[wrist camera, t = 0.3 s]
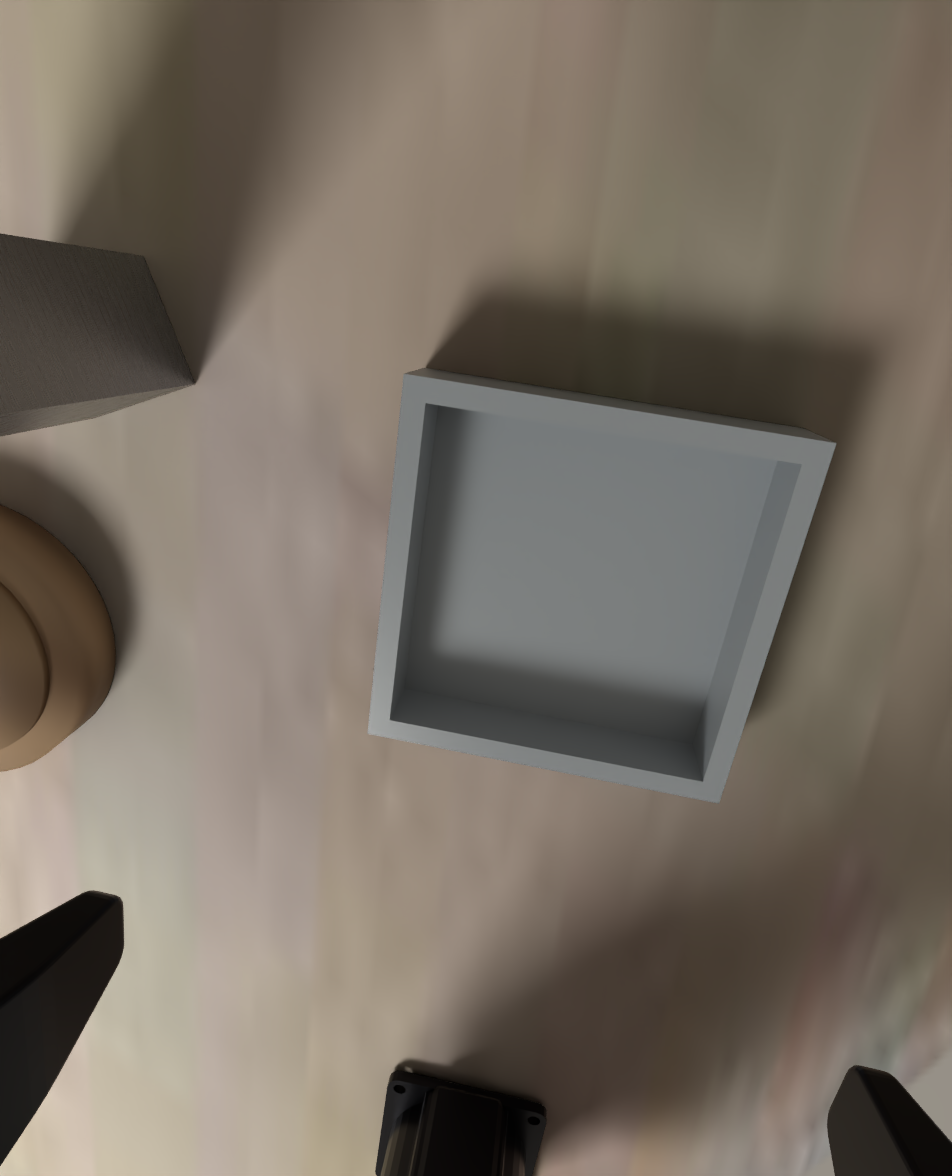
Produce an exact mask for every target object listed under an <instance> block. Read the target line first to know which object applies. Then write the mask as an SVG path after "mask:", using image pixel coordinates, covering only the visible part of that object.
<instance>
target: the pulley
mask: <svg viewBox="0 0 952 1176" xmlns="http://www.w3.org/2000/svg"><path fill="white" fill-rule="evenodd" d="M115 654H116V649H115V641H114V633H113V629H112V625H111V621H110V617H109V615H108V612H107V610H106V607H105V604H104V602H103V600H102V598H101V596H100V594H99V592H98V590H97V588H96V586H95V584H94V583H93V581H92V580H91V578H90V577H89V575H88V574H87V572H86V571H85V569H84V568H83V567H82V565H81V564H80V563H79V562H78V561H77V559H76V558H75V557H74V556H73V554H72V553H71V552H70V551H69V550H68V549H67V548H66V547H65V546H64V545H63V544H62V543H61V542H60V541H59V540H57V539H56V538H55V537H54V536H52V535H51V534H50V533H49V532H48V531H46V530H45V529H44V528H42V527H41V526H39V525H38V524H36V523H35V522H33V521H32V520H30V519H29V518H27V517H25V516H23V515H21V514H19V513H17V512H15V511H14V510H12V509H9V508H7V507H4V506H1V505H0V772H1V771H8V770H13V769H17V768H21V767H23V766H26V765H28V764H30V763H33V762H35V761H36V760H38V759H40V758H41V757H43V756H44V755H46V754H47V753H48V752H49V751H51V750H52V749H53V748H54V747H56V746H57V745H58V744H59V743H61V742H62V741H63V740H64V739H65V738H67V737H68V736H69V735H70V734H72V733H73V732H74V731H75V730H77V729H78V728H79V727H80V726H81V725H83V724H84V723H85V722H86V721H87V720H88V719H90V718H91V717H92V716H93V715H94V714H95V713H96V711H97V710H98V709H99V708H100V706H101V705H102V703H103V702H104V700H105V698H106V696H107V694H108V692H109V689H110V686H111V683H112V680H113V676H114V670H115Z"/></svg>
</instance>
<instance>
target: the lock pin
mask: <svg viewBox="0 0 952 1176" xmlns="http://www.w3.org/2000/svg"><path fill="white" fill-rule="evenodd" d="M194 384H195V382H194V380H193V377H192V375H191V373H190V370H189V368H188V365H187V363H186V360H185V358H184V355H183V353H182V350H181V348H180V346H179V343H178V341H177V338H176V336H175V333H174V331H173V328H172V326H171V323H170V321H169V318H168V316H167V314H166V311H165V309H164V306H163V304H162V301H161V299H160V296H159V294H158V291H157V289H156V286H155V284H154V282H153V279H152V277H151V274H150V272H149V269H148V267H147V264H146V262H145V259H144V257H143V256H139V255H133V254H127V253H120V252H114V251H108V250H101V249H95V248H89V247H82V246H76V245H70V244H63V243H57V242H51V241H44V240H38V239H32V238H25V237H19V236H13V235H6V234H0V436H5V435H11V434H16V433H21V432H26V431H31V430H36V429H41V428H47V427H52V426H57V425H62V424H67V423H72V422H77V421H82V420H88V419H93V418H96V417H99V416H102V415H105V414H108V413H111V412H114V411H117V410H120V409H123V408H126V407H129V406H132V405H135V404H138V403H141V402H144V401H147V400H150V399H153V398H156V397H158V396H161V395H164V394H167V393H170V392H173V391H176V390H179V389H182V388H185V387H188V386H191V385H194Z"/></svg>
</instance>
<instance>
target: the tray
mask: <svg viewBox="0 0 952 1176" xmlns="http://www.w3.org/2000/svg"><path fill="white" fill-rule="evenodd" d="M835 446H836V443H835V442H833V441H831V440H829V439H826V438H824V437H822V436H820V435H818V434H815V433H813V432H811V431H809V430H807V429H804V428H799V427H793V426H786V425H780V424H774V423H768V422H761V421H755V420H749V419H743V418H736V417H730V416H724V415H717V414H711V413H705V412H699V411H692V410H686V409H680V408H674V407H667V406H661V405H655V404H649V403H642V402H636V401H630V400H623V399H617V398H611V397H605V396H598V395H592V394H586V393H580V392H573V391H567V390H561V389H555V388H548V387H542V386H536V385H529V384H523V383H517V382H511V381H504V380H498V379H492V378H486V377H479V376H473V375H467V374H461V373H454V372H448V371H442V370H435V369H429V368H422V369H418V370H415V371H412V372H408V373H405V374H404V377H403V387H402V397H401V407H400V417H399V427H398V437H397V447H396V457H395V467H394V477H393V487H392V497H391V506H390V516H389V526H388V536H387V546H386V556H385V566H384V576H383V586H382V596H381V606H380V616H379V626H378V636H377V645H376V655H375V665H374V675H373V685H372V695H371V705H370V715H369V725H368V734H371V735H376V736H381V737H386V738H391V739H396V740H401V741H407V742H412V743H417V744H422V745H427V746H432V747H437V748H442V749H447V750H452V751H457V752H462V753H467V754H472V755H477V756H482V757H487V758H492V759H497V760H502V761H507V762H512V763H517V764H522V765H527V766H532V767H537V768H542V769H547V770H552V771H558V772H563V773H568V774H573V775H578V776H583V777H588V778H593V779H598V780H603V781H608V782H613V783H618V784H623V785H628V786H633V787H638V788H643V789H648V790H653V791H658V792H663V793H668V794H673V795H678V796H683V797H688V798H693V799H698V800H703V801H709V802H714V803H719V802H720V799H721V796H722V793H723V790H724V787H725V784H726V781H727V778H728V774H729V771H730V768H731V765H732V762H733V759H734V756H735V753H736V750H737V747H738V744H739V741H740V738H741V735H742V732H743V729H744V725H745V722H746V719H747V716H748V713H749V710H750V707H751V704H752V701H753V698H754V695H755V692H756V689H757V686H758V683H759V679H760V676H761V673H762V670H763V667H764V664H765V661H766V658H767V655H768V652H769V649H770V646H771V643H772V640H773V637H774V633H775V630H776V627H777V624H778V621H779V618H780V615H781V612H782V609H783V606H784V603H785V600H786V597H787V594H788V591H789V588H790V584H791V581H792V578H793V575H794V572H795V569H796V566H797V563H798V560H799V557H800V554H801V551H802V548H803V545H804V542H805V538H806V535H807V532H808V529H809V526H810V523H811V520H812V517H813V514H814V511H815V508H816V505H817V502H818V499H819V496H820V492H821V489H822V486H823V483H824V480H825V477H826V474H827V471H828V468H829V465H830V462H831V459H832V456H833V453H834V450H835Z"/></svg>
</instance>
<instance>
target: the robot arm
mask: <svg viewBox="0 0 952 1176" xmlns="http://www.w3.org/2000/svg"><path fill="white" fill-rule="evenodd" d="M123 949H124V917H123V902H122V900H121V898H120V897H118V896H116V895H112V894H108V893H103V892H99V891H87V892H84V893H82V894H80V895H78V896H76V897H75V898H73V899H71V900H69V901H67V902H65V903H64V904H62V905H60V906H58V907H56V908H55V909H53V910H51V911H49V912H47V913H46V914H44V915H42V916H40V917H38V918H37V919H35V920H33V921H31V922H29V923H28V924H26V925H24V926H22V927H20V928H19V929H17V930H15V931H13V932H11V933H10V934H8V935H6V936H4V937H2V938H0V1166H1V1164H2V1163H3V1161H4V1160H5V1158H6V1157H7V1155H8V1154H9V1152H10V1151H11V1149H12V1148H13V1146H14V1145H15V1143H16V1142H17V1140H18V1139H19V1137H20V1136H21V1134H22V1133H23V1131H24V1130H25V1128H26V1127H27V1125H28V1124H29V1122H30V1121H31V1119H32V1118H33V1116H34V1114H35V1113H36V1111H37V1110H38V1108H39V1107H40V1105H41V1103H42V1102H43V1100H44V1099H45V1097H46V1096H47V1094H48V1092H49V1090H50V1089H51V1087H52V1085H53V1083H54V1082H55V1080H56V1078H57V1076H58V1075H59V1073H60V1071H61V1069H62V1068H63V1066H64V1064H65V1062H66V1060H67V1058H68V1056H69V1055H70V1053H71V1051H72V1049H73V1047H74V1045H75V1044H76V1042H77V1040H78V1038H79V1036H80V1034H81V1033H82V1031H83V1029H84V1027H85V1025H86V1023H87V1022H88V1020H89V1018H90V1016H91V1014H92V1012H93V1011H94V1009H95V1007H96V1005H97V1003H98V1001H99V1000H100V998H101V996H102V994H103V992H104V990H105V988H106V987H107V985H108V983H109V981H110V979H111V977H112V976H113V974H114V972H115V970H116V968H117V966H118V964H119V962H120V959H121V957H122V953H123ZM546 1114H547V1113H546V1108H545V1107H544V1106H543V1105H542V1104H539V1103H537V1102H533V1101H528V1100H524V1099H520V1098H516V1097H511V1096H507V1095H503V1094H498V1093H494V1092H490V1091H486V1090H481V1089H477V1088H473V1087H468V1086H464V1085H460V1084H456V1083H451V1082H447V1081H443V1080H438V1079H434V1078H430V1077H425V1076H421V1075H417V1074H413V1073H408V1072H404V1071H395V1072H393V1073H392V1074H391V1075H390V1078H389V1082H388V1087H387V1094H386V1101H385V1108H384V1115H383V1122H382V1129H381V1135H380V1142H379V1149H378V1156H377V1163H376V1170H375V1172H376V1175H377V1176H532V1174H533V1170H534V1166H535V1163H536V1159H537V1155H538V1152H539V1148H540V1144H541V1141H542V1137H543V1133H544V1130H545V1126H546ZM827 1129H828V1138H829V1144H830V1149H831V1155H832V1161H833V1166H834V1173H835V1176H952V1142H951V1141H950V1140H949V1139H948V1138H947V1136H946V1135H945V1134H944V1133H943V1132H942V1131H941V1130H940V1129H939V1127H938V1126H937V1125H936V1124H935V1123H934V1122H933V1120H932V1119H931V1118H930V1117H929V1116H928V1115H927V1114H926V1112H925V1111H924V1110H923V1109H922V1108H921V1107H920V1105H919V1104H918V1103H917V1102H916V1101H915V1100H914V1099H913V1098H912V1096H911V1095H910V1094H909V1093H908V1092H907V1091H906V1089H905V1088H904V1087H903V1086H902V1085H901V1084H900V1083H899V1081H898V1080H897V1079H896V1078H894V1077H893V1076H892V1075H891V1074H889V1073H887V1072H885V1071H881V1070H877V1069H873V1068H868V1067H864V1066H859V1065H855V1066H853V1067H851V1068H850V1069H849V1070H848V1071H847V1073H846V1075H845V1077H844V1080H843V1082H842V1084H841V1086H840V1088H839V1090H838V1092H837V1094H836V1097H835V1099H834V1101H833V1103H832V1105H831V1107H830V1110H829V1113H828V1121H827Z"/></svg>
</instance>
